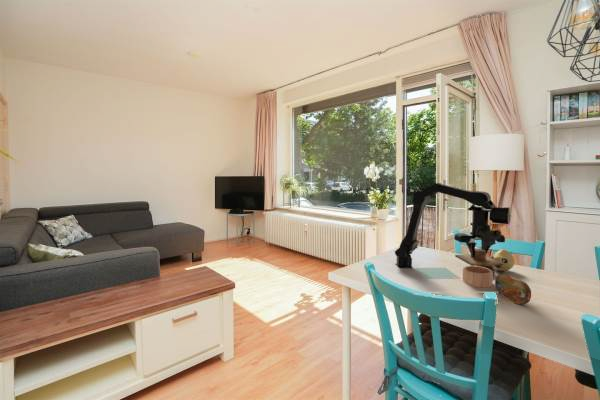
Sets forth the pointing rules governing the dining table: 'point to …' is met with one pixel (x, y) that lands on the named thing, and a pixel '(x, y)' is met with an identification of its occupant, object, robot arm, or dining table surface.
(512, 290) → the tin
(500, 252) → the yellow rounded lump
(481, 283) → the terracotta bowl
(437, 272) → the teal mat
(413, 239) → the robot arm
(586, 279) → the dining table surface
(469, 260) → the walnut lid
